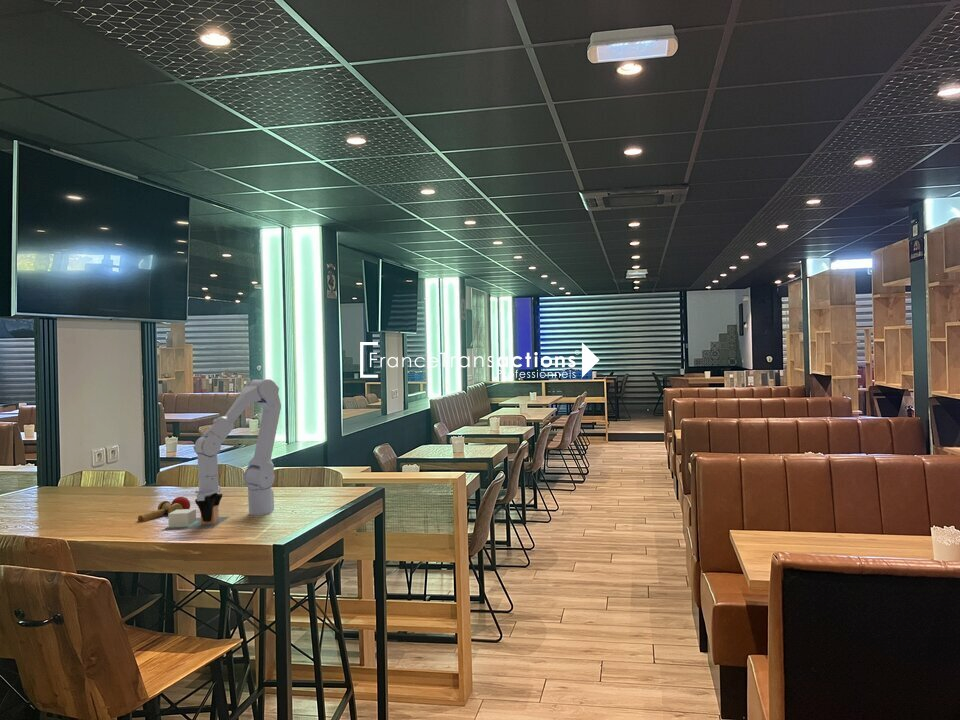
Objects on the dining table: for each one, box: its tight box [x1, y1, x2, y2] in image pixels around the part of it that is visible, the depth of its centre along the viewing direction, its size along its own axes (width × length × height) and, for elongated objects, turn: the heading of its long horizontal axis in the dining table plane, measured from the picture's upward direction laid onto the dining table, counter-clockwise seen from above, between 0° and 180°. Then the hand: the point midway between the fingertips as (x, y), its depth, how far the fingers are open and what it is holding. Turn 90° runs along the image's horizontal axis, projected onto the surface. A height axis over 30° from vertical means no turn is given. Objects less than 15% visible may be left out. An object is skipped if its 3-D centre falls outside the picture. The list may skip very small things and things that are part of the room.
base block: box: [167, 508, 197, 527], centre depth 222 cm, size 6×6×4 cm
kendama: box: [137, 496, 191, 523], centre depth 236 cm, size 8×6×18 cm
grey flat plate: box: [161, 516, 230, 531], centre depth 223 cm, size 16×15×1 cm
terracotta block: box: [200, 505, 220, 524], centre depth 223 cm, size 4×4×5 cm
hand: (209, 519), depth 223 cm, fingers closed on terracotta block, 4 cm apart
